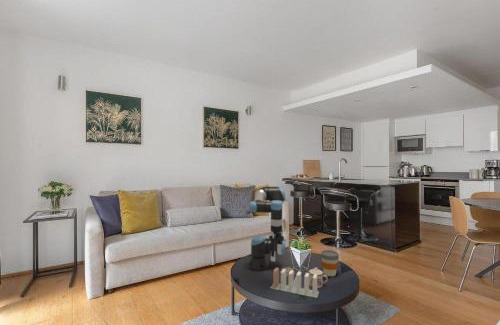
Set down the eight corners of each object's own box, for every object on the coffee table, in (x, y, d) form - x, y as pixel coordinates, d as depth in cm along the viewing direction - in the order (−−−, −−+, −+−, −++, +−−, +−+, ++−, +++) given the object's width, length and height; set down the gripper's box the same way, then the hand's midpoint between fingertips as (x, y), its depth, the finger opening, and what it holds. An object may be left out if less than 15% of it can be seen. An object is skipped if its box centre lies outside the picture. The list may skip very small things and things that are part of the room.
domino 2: (280, 289, 168) (280, 272, 168) (283, 285, 173) (283, 268, 173) (283, 289, 168) (283, 272, 167) (286, 285, 173) (286, 269, 173)
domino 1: (273, 287, 170) (273, 270, 170) (275, 283, 175) (276, 267, 175) (276, 288, 169) (276, 271, 169) (278, 284, 175) (278, 268, 174)
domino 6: (312, 295, 161) (312, 277, 160) (314, 291, 166) (314, 274, 165) (315, 296, 160) (315, 278, 160) (317, 292, 165) (317, 274, 165)
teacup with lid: (309, 288, 171) (309, 270, 171) (308, 281, 180) (308, 264, 180) (328, 289, 169) (328, 271, 169) (326, 283, 178) (326, 266, 178)
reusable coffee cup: (335, 269, 199) (335, 250, 199) (341, 277, 187) (341, 256, 187) (318, 270, 199) (318, 250, 199) (323, 277, 187) (323, 256, 186)
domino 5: (304, 294, 162) (304, 276, 162) (306, 289, 168) (306, 272, 167) (307, 294, 162) (307, 276, 162) (309, 290, 167) (309, 273, 167)
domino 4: (296, 292, 164) (296, 274, 164) (298, 288, 170) (298, 271, 169) (299, 293, 164) (299, 275, 163) (301, 288, 169) (301, 271, 169)
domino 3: (288, 290, 166) (288, 273, 166) (290, 286, 172) (290, 270, 171) (291, 291, 166) (291, 274, 165) (293, 287, 171) (293, 270, 171)
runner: (269, 288, 170) (269, 287, 170) (273, 283, 177) (273, 282, 177) (317, 298, 158) (317, 297, 158) (319, 292, 166) (319, 291, 166)
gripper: (276, 230, 159) (276, 265, 159) (287, 221, 182) (286, 251, 182) (264, 229, 162) (264, 263, 162) (276, 220, 185) (276, 250, 185)
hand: (276, 257), depth 172 cm, fingers open, 13 cm apart
